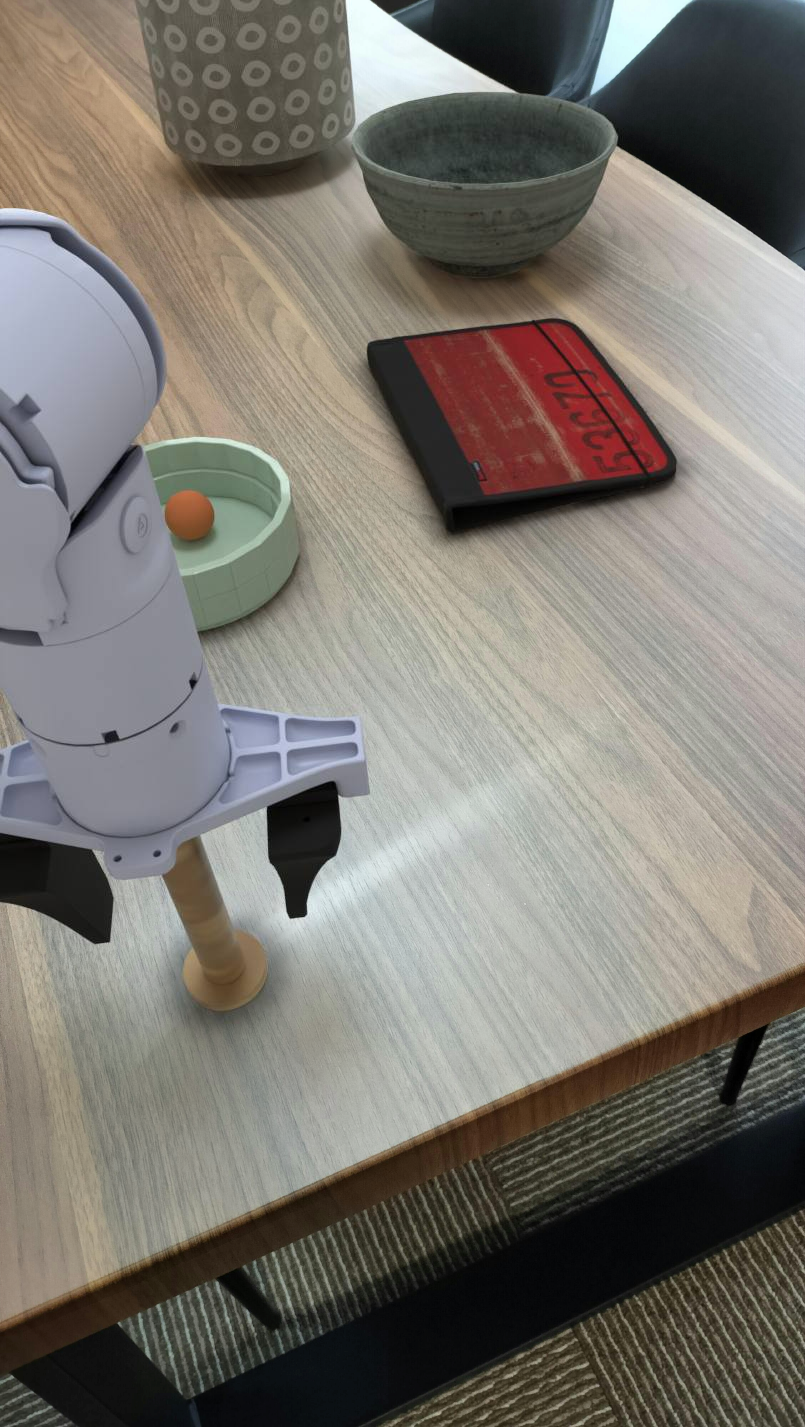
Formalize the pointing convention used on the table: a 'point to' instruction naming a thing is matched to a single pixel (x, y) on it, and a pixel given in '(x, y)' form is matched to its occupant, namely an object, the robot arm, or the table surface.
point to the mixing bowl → (229, 524)
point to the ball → (189, 515)
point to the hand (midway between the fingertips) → (200, 908)
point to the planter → (249, 79)
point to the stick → (212, 935)
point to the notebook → (516, 419)
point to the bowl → (483, 175)
